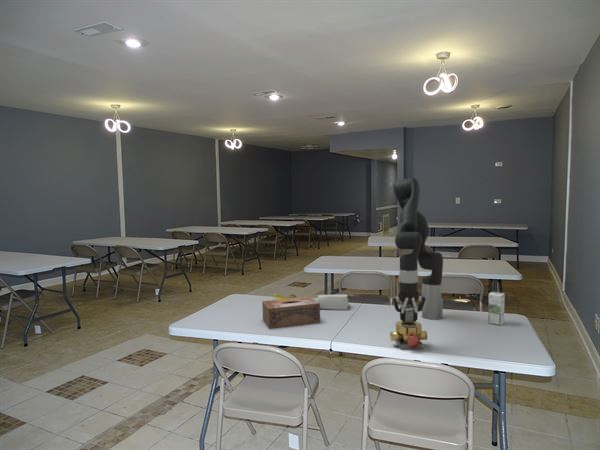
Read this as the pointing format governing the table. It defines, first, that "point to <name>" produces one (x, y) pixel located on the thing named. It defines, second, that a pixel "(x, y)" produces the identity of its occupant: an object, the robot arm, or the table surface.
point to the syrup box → (496, 308)
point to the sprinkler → (284, 297)
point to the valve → (408, 336)
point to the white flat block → (333, 302)
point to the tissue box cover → (291, 312)
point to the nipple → (409, 316)
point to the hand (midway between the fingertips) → (408, 321)
